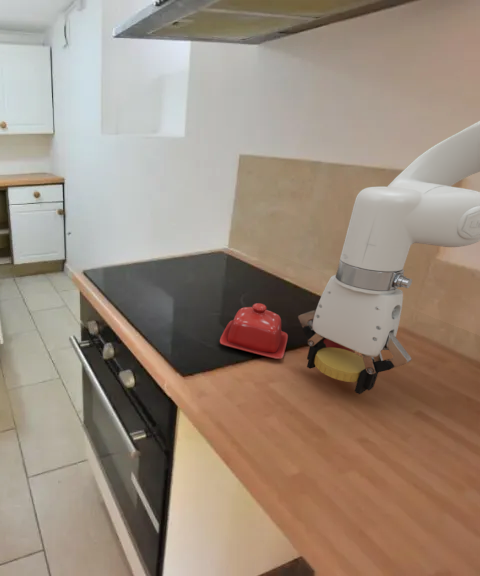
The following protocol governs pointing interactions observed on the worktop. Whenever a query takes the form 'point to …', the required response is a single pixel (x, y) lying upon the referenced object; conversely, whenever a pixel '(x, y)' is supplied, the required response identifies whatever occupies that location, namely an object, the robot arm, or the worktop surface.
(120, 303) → the worktop surface
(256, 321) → the butter dish
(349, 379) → the lid
